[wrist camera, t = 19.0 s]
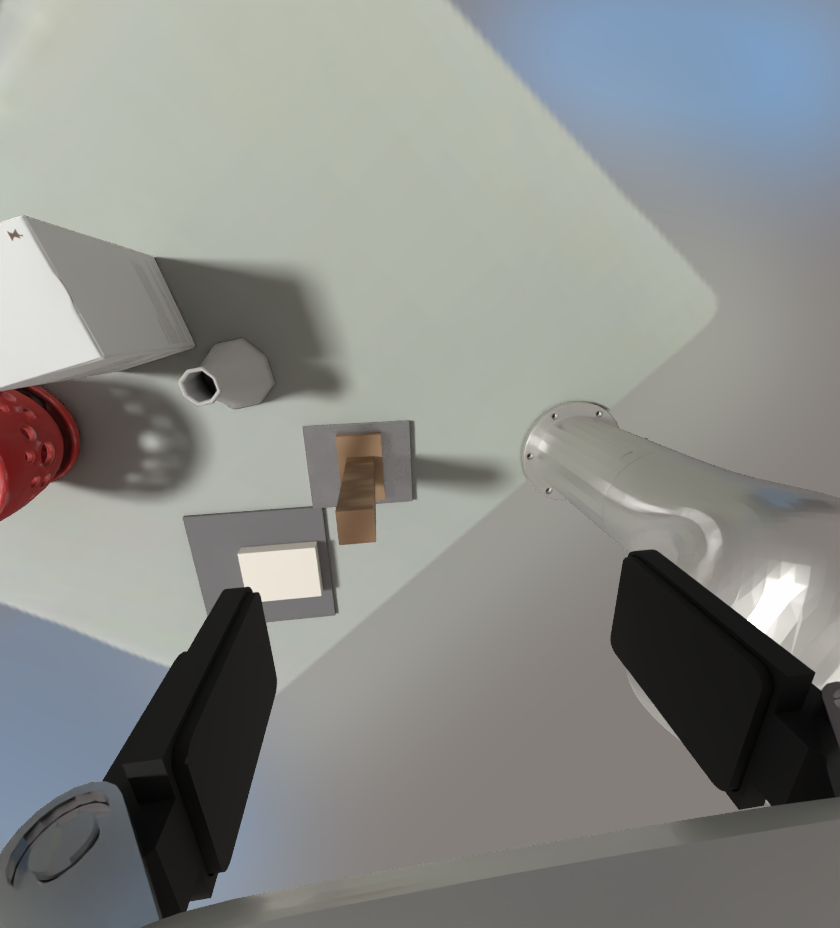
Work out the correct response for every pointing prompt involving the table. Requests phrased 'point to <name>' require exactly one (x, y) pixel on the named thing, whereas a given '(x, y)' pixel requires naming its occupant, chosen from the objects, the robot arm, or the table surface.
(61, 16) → the table surface
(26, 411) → the plant pot
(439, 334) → the table surface
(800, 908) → the robot arm
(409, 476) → the plate
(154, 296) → the supplement box
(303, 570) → the tile
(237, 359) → the flask
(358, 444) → the wooden post stand
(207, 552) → the mat
